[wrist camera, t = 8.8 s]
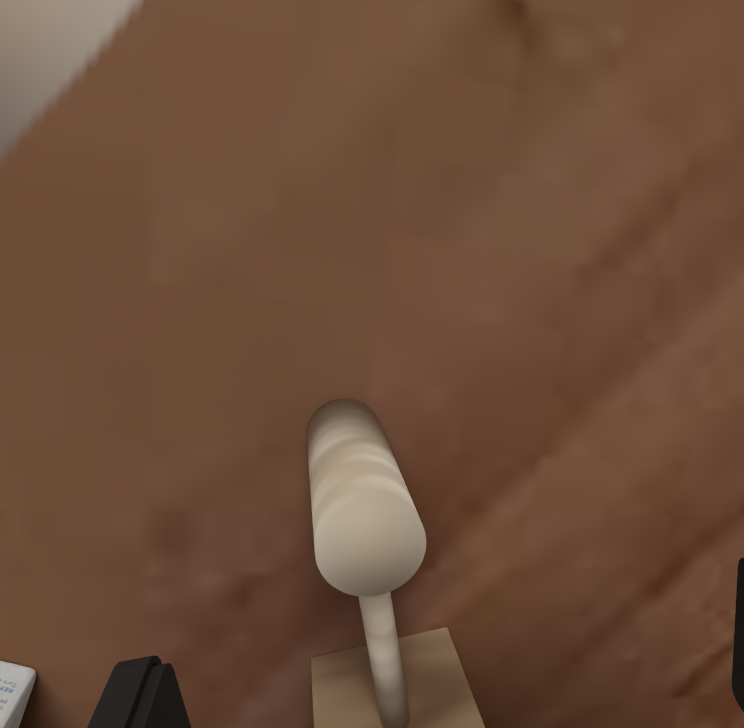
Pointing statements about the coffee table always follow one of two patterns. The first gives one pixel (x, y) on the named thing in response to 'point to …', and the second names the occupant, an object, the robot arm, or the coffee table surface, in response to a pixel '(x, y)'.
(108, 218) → the coffee table surface
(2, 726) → the light bulb box
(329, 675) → the tethered block
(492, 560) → the coffee table surface
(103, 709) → the robot arm
